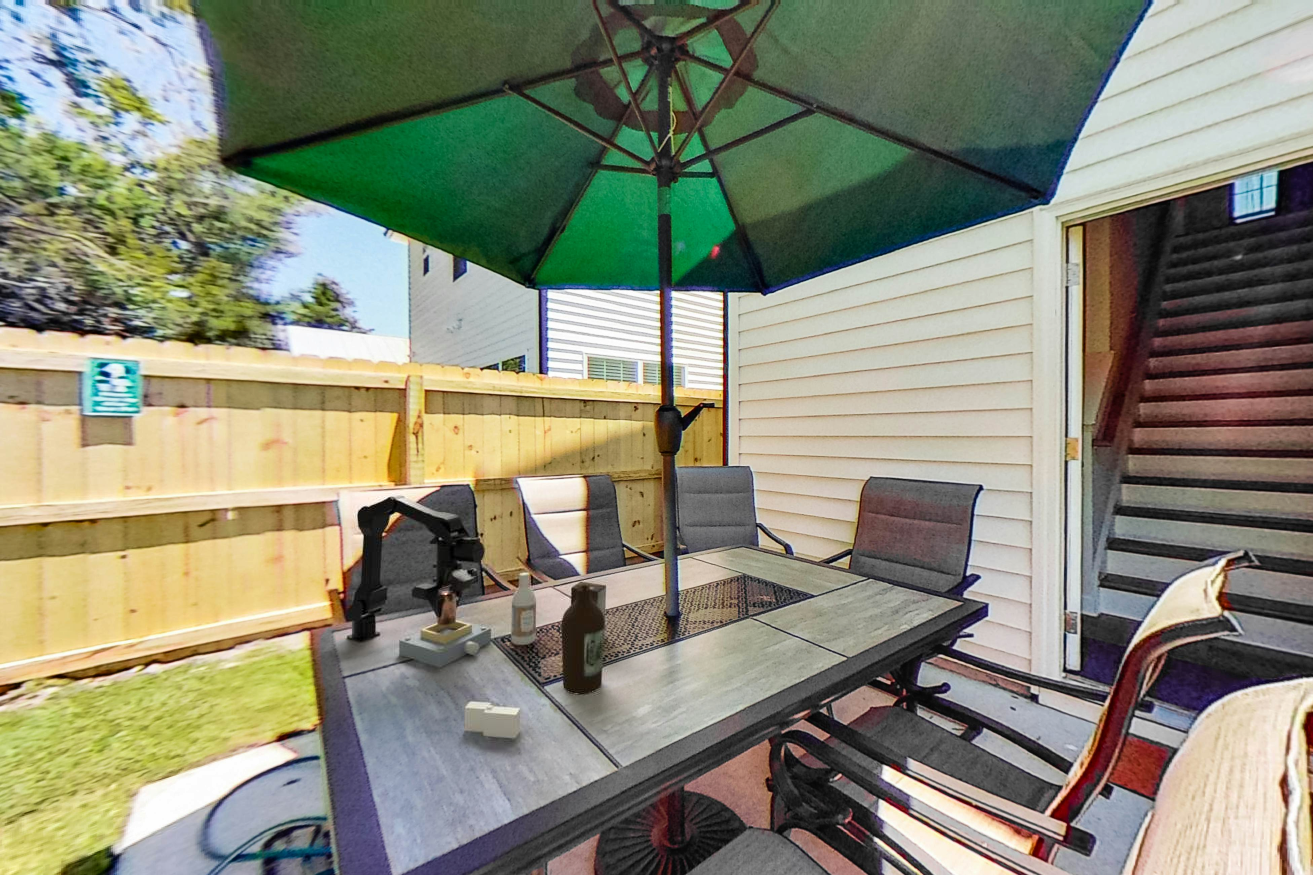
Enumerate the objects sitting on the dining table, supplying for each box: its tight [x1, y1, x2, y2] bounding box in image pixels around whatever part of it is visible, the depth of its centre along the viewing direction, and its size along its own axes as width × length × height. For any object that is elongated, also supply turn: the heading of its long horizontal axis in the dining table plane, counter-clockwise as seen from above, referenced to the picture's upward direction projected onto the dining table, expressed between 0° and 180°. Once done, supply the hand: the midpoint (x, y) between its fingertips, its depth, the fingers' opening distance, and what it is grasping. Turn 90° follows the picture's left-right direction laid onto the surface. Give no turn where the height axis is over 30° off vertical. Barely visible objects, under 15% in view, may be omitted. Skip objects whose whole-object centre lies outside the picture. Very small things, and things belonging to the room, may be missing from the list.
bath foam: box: [510, 572, 537, 646], centre depth 147 cm, size 7×7×20 cm
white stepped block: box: [464, 701, 521, 739], centre depth 104 cm, size 15×11×6 cm
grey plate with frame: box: [398, 619, 492, 668], centre depth 141 cm, size 19×18×6 cm
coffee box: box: [570, 581, 607, 638], centre depth 149 cm, size 9×6×16 cm
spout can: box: [436, 590, 458, 625], centre depth 141 cm, size 7×5×8 cm
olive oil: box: [560, 581, 606, 695], centre depth 122 cm, size 11×11×25 cm
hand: (446, 614), depth 142 cm, fingers closed on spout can, 5 cm apart
